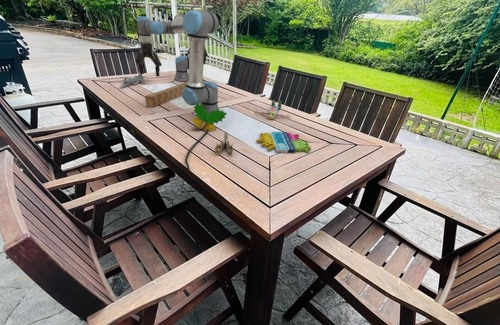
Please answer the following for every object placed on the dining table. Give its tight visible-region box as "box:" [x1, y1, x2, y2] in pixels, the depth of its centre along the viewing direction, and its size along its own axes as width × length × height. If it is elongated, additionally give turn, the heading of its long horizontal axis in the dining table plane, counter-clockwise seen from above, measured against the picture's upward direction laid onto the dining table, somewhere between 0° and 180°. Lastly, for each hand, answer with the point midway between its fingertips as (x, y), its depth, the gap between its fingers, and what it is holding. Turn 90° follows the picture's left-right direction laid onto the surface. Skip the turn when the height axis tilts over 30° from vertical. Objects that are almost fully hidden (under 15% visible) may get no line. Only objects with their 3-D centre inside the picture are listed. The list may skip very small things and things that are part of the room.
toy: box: [253, 99, 292, 120], centre depth 196 cm, size 28×7×30 cm
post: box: [144, 81, 187, 108], centre depth 223 cm, size 77×5×8 cm, turn 160°
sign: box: [256, 131, 312, 154], centre depth 152 cm, size 26×2×30 cm
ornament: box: [191, 102, 228, 132], centre depth 162 cm, size 21×8×15 cm, turn 105°
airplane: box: [119, 72, 152, 89], centre depth 248 cm, size 38×31×10 cm
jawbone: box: [214, 131, 234, 156], centre depth 136 cm, size 9×15×10 cm
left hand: (197, 63), depth 242 cm, fingers open, 13 cm apart
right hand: (150, 75), depth 187 cm, fingers open, 13 cm apart
